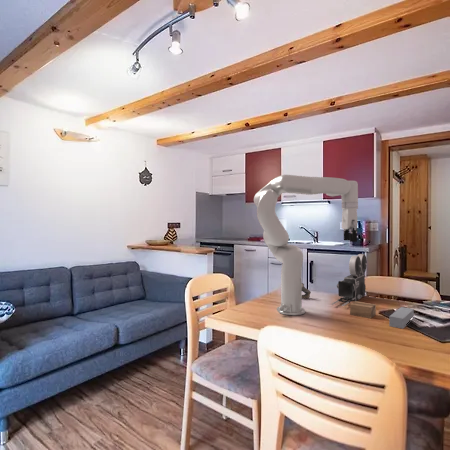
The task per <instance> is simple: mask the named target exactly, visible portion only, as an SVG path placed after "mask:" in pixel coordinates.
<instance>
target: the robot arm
mask: <svg viewBox="0 0 450 450" xmlns="http://www.w3.org/2000/svg"><path fill="white" fill-rule="evenodd" d="M286 193H287V194H297V195H308V196H309V195H310V196H311V195H320V194H325V195H326V196H329V197H338V196H341V210H342V213H341V228H342V230H343V241H349V242H351V243H356V242H358V212H357V211H358V210H359V185H358V181H356V180H347V179H345V178H339V177H331V176H330V177H326V176H324V177H323V176H321V177H320V176H305V175H304V176H302V175H294V174H281V175H278V176H276V177H275V178H273V179H272V180H271V181H269V182H267V184H266V185H265V186H263V187H262V188H261V189H259V191H257V192H256V193H255V195H254V197H253V202H254V205H255V207H257V208H256V215H257V217H256V218H257V221H258V223H259V224H260V226H261V228H262V229H263V234H262V237H263V238H262V239H263V241H264V243H265V244H266V246H267V248H268V249H269V251H270V252H271V254H272V255H273V256H274V258H275V259H276V260H277V261H278V262H279V263H282V264H281V268H280V269H281V270H280V285H281V286H280V288H281V289H280V293H281V295H280V298H281V299H280V300H281V301H280V302H281V303H280V306H277V308H276V311H277V312H278V313H279V314H282V315H285V316H300V315H304V314H305V313H306V309H305V308H304V307H302V306H303V304H302V303H303V301H302V300H303V299H302V295H303V294H302V293H303V291H302V283H303V281H302V271H303V270H302V269H303V262H304V261H303V260H304V254H303V251H302V249H301V248H300V247H299V246H296V245H294V244H289V243H288V242H289V239H290V235H289V232H288V231H287V230H286V228H285V227H284V225H283V224H282V222H281V221H280V219H279V217H278V216H277V214H276V205H277V202H278V199H279V197H281V195H283V194H286Z"/></svg>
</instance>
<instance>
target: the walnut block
mask: <svg viewBox="0 0 450 450" xmlns="http://www.w3.org/2000/svg"><path fill="white" fill-rule="evenodd" d="M349 315H351V316H355V317H356V316H357V317H361V318H366V319H372V318H374V317H375V316H376V315H377V304H376V303H375V304H374V303H369V302H368V303H367V302H363V301H359V300H357V301H352V303H351V302H350V303H349Z"/></svg>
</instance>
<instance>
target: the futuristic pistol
mask: <svg viewBox="0 0 450 450" xmlns="http://www.w3.org/2000/svg"><path fill="white" fill-rule="evenodd" d="M302 293H304V294H302V298H304V299H310V297H311V291H310V290H309V289H308V288H307V287H305V283H304V282H302Z"/></svg>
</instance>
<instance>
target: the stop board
mask: <svg viewBox="0 0 450 450" xmlns="http://www.w3.org/2000/svg"><path fill="white" fill-rule="evenodd" d="M414 312H415V308H409V307H404V306H401V307H399V308H398V309H396V310H395V311H394V312H393V313H391V315H389V316H388V320H389V322H388V323H389V325H388V326H389V327H393V328H396V329H397V328H399V329H402V330H403V329H405V327H406V326H407V325H408V324H409V323H410V322H409V320H410V319H411V318H412V317H413V316H414V315H415V313H414ZM408 322H409V323H408ZM407 323H408V324H407ZM406 324H407V325H406Z"/></svg>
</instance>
